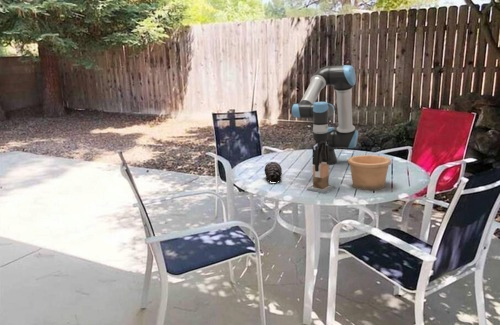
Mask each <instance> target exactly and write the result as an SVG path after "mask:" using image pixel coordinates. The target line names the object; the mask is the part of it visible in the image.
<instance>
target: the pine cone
mask: <svg viewBox="0 0 500 325" xmlns="http://www.w3.org/2000/svg"><path fill="white" fill-rule="evenodd" d="M264 174H265V177H266V180H267V179H268V180H269V181H271V182H278V181H279V180H280V181H281V179H282V176H283V171H282V166H281V164H279V163H278V162H276V161H269V162H268V163H266V164H265V165H264ZM278 183H279V182H278Z"/></svg>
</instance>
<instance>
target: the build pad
mask: <svg viewBox="0 0 500 325" xmlns="http://www.w3.org/2000/svg"><path fill="white" fill-rule="evenodd" d="M335 188H336V185H333V184H332V185H331V184H329V186H328V187H326V188H324V189H319V188H313V184H312V185H310V186H308V187H306V191H311V192H315V193H316V192H317V193H321V194H326V193H328V192H330V191H332V190H334V189H335Z"/></svg>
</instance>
